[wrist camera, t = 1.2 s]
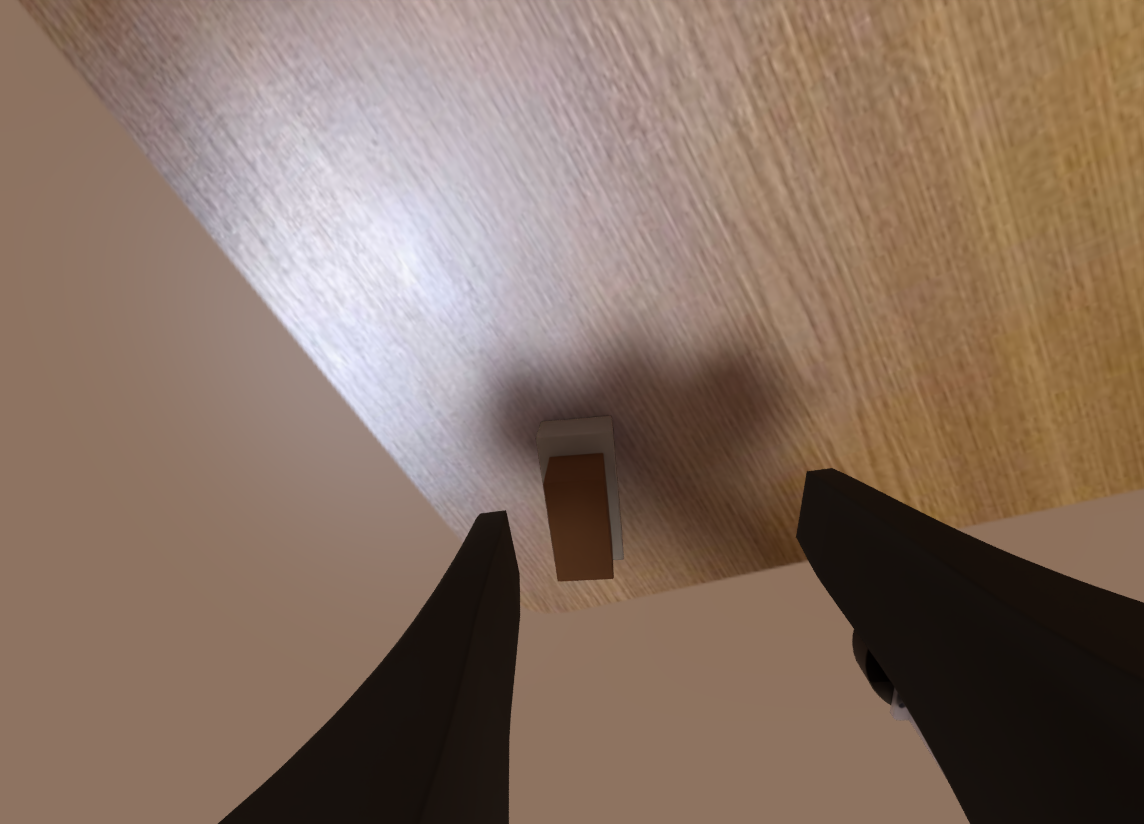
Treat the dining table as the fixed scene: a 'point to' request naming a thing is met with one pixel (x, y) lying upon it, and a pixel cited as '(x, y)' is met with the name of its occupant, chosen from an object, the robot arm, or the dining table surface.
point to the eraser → (581, 496)
